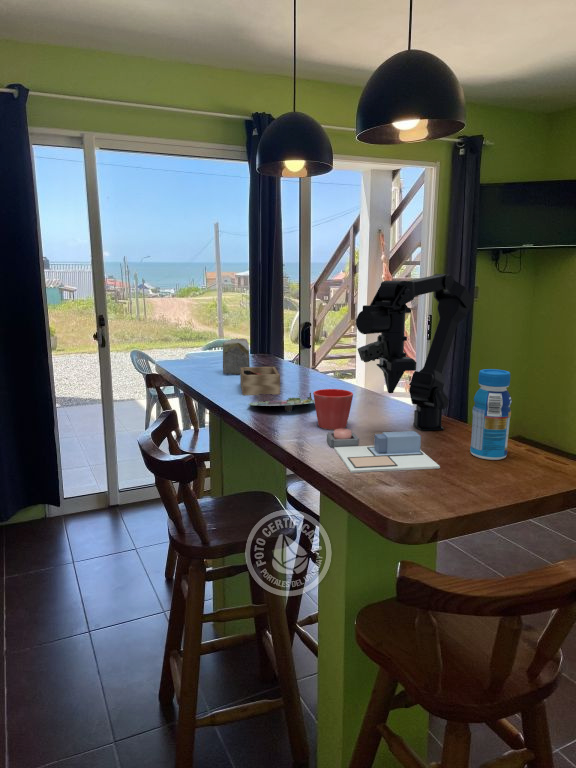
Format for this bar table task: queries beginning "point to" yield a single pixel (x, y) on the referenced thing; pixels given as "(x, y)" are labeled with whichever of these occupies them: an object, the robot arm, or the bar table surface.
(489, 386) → the beverage bottle
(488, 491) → the bar table surface
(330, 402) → the flower pot
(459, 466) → the bar table surface
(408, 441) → the blue paint stick
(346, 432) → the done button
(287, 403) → the city model
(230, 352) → the geological specimen
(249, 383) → the open wooden box
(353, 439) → the button housing
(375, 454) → the white sorting board
